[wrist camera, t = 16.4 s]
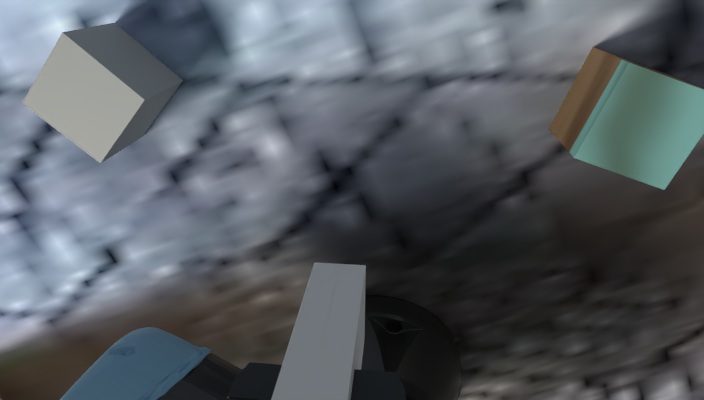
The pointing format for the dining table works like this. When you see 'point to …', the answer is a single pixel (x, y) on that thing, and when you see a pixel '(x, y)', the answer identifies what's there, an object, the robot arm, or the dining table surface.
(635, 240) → the dining table surface
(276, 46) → the dining table surface
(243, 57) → the dining table surface
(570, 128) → the brown and green cube
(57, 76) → the grey block
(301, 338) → the robot arm
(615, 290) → the dining table surface
